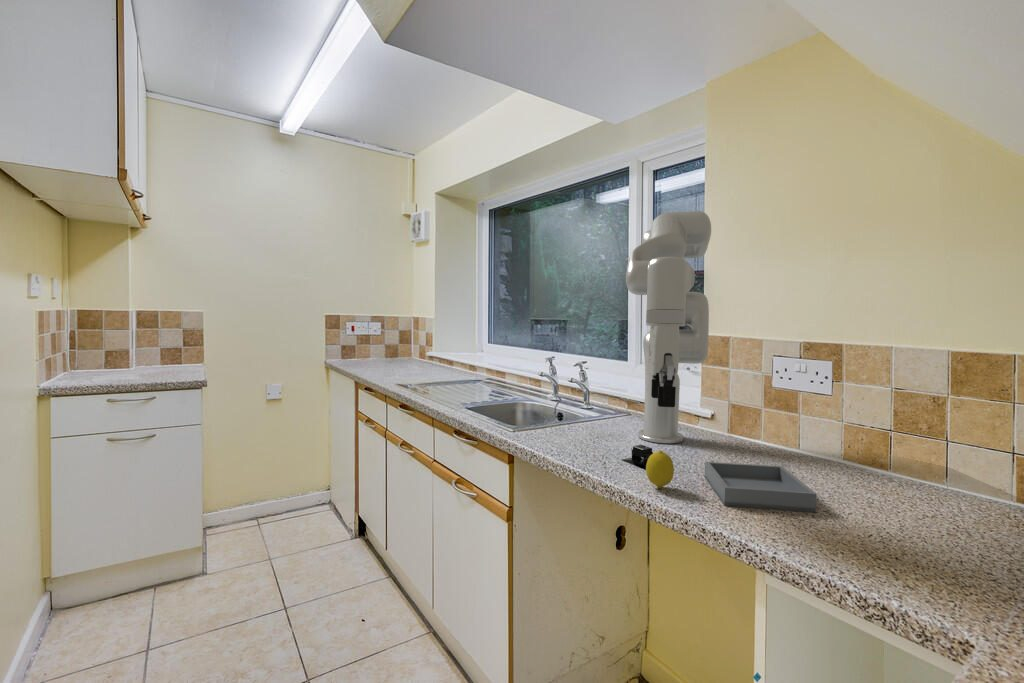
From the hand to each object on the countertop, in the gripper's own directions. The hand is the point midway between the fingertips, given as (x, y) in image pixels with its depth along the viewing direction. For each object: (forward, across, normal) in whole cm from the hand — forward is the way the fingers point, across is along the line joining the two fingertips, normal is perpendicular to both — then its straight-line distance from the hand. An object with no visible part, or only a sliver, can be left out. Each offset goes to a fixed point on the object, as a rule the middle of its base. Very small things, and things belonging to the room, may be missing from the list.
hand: (662, 402), depth 99 cm
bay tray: (+18, -1, +19) cm, 26 cm away
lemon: (+18, 0, 0) cm, 18 cm away
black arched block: (+19, -16, -2) cm, 25 cm away
